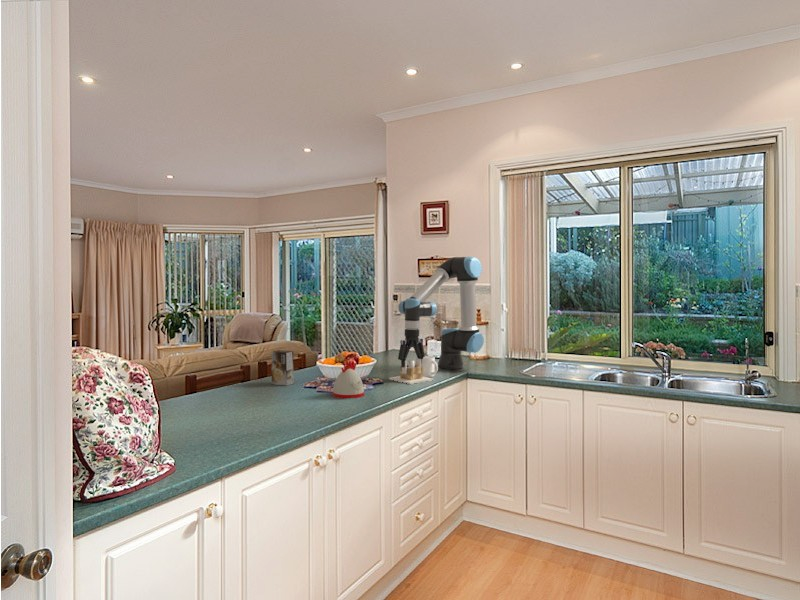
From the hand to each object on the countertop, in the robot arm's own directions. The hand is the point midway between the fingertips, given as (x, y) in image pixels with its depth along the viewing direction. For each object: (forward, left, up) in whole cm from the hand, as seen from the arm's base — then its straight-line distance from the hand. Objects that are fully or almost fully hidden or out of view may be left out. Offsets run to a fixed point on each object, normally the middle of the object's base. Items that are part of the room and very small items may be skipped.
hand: (411, 372), depth 267 cm
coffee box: (+56, -32, -4) cm, 65 cm away
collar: (0, 0, -3) cm, 3 cm away
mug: (-14, -1, -4) cm, 15 cm away
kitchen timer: (+45, +7, -4) cm, 46 cm away
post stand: (0, 0, -4) cm, 4 cm away
